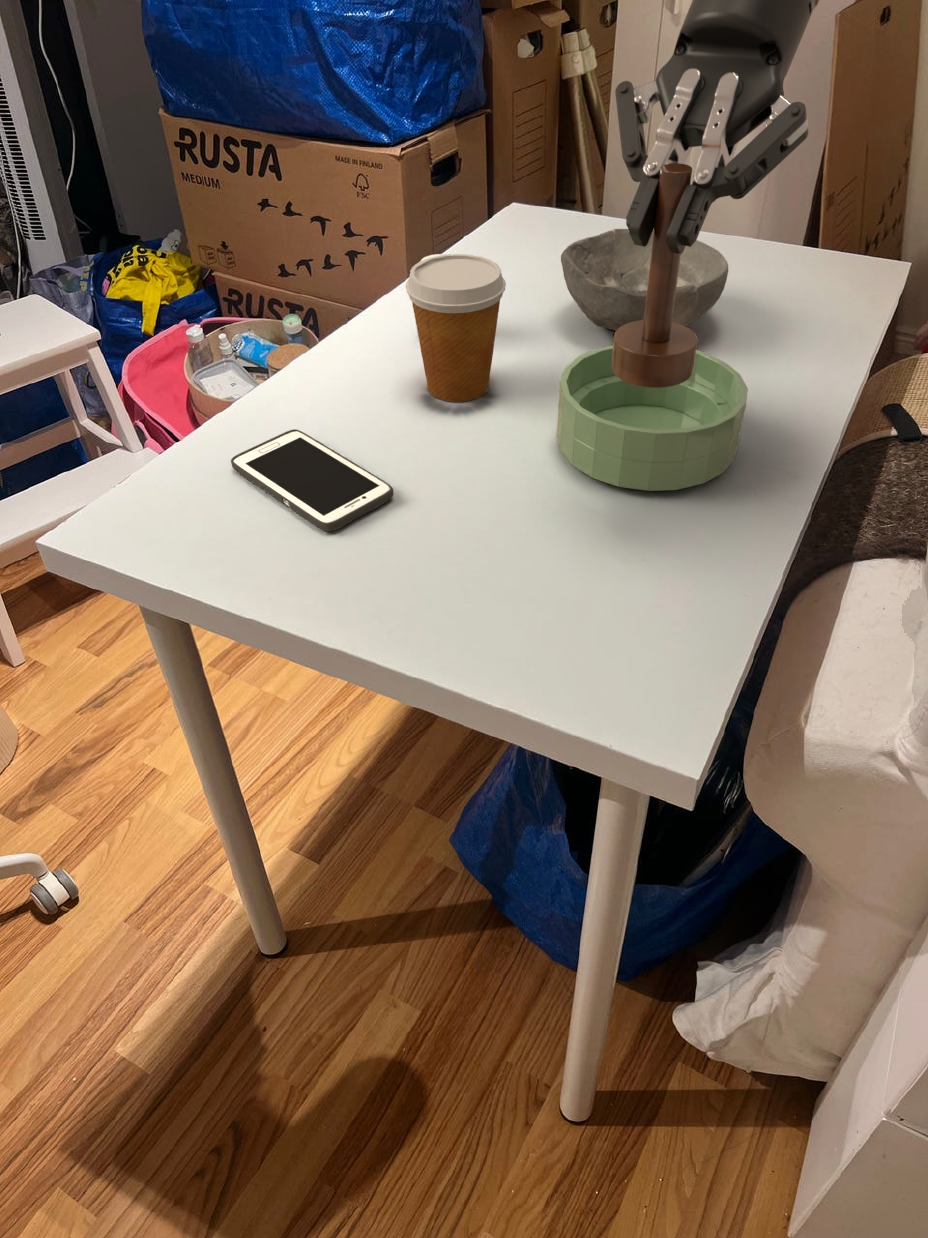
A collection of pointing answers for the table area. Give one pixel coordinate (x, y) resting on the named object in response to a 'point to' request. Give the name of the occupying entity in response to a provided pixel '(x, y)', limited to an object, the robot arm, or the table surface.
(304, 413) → the table surface
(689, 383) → the mixing bowl
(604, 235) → the bowl
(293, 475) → the cell phone
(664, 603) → the table surface
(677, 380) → the wooden rod on disc
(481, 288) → the disposable coffee cup
